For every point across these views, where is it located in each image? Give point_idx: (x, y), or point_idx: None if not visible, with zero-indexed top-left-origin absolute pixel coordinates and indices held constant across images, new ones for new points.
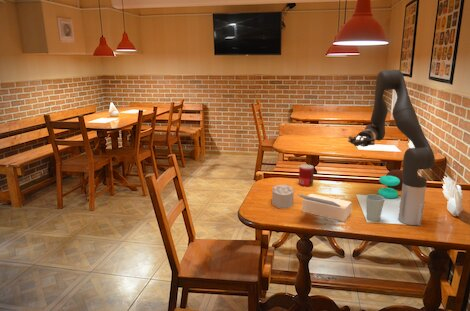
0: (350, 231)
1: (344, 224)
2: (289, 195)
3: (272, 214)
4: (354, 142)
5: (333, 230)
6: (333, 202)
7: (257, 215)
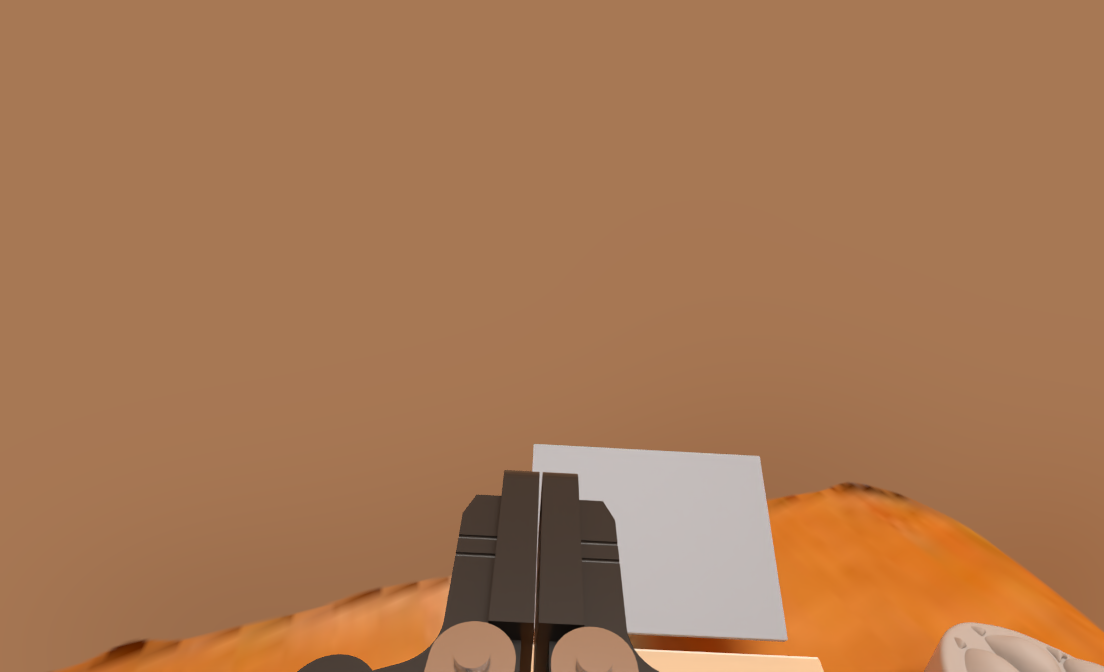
0: (427, 596)
1: None
2: (938, 669)
3: (872, 587)
4: (587, 510)
5: None
6: (533, 455)
7: (907, 545)
